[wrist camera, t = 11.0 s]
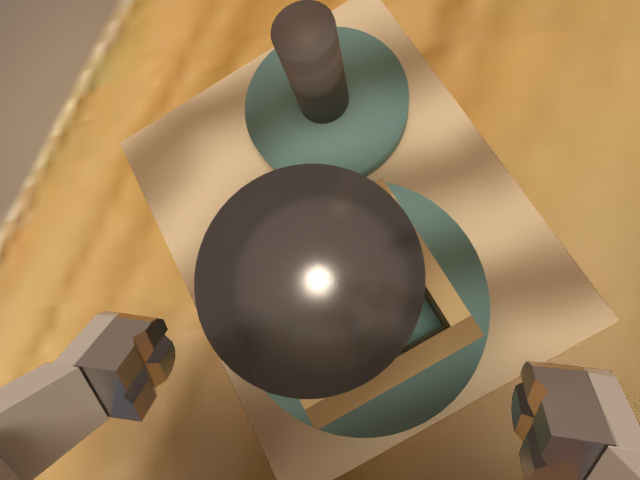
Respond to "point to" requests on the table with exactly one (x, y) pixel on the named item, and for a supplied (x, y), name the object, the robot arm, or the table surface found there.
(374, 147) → the gear board
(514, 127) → the table surface
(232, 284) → the axle
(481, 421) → the table surface
